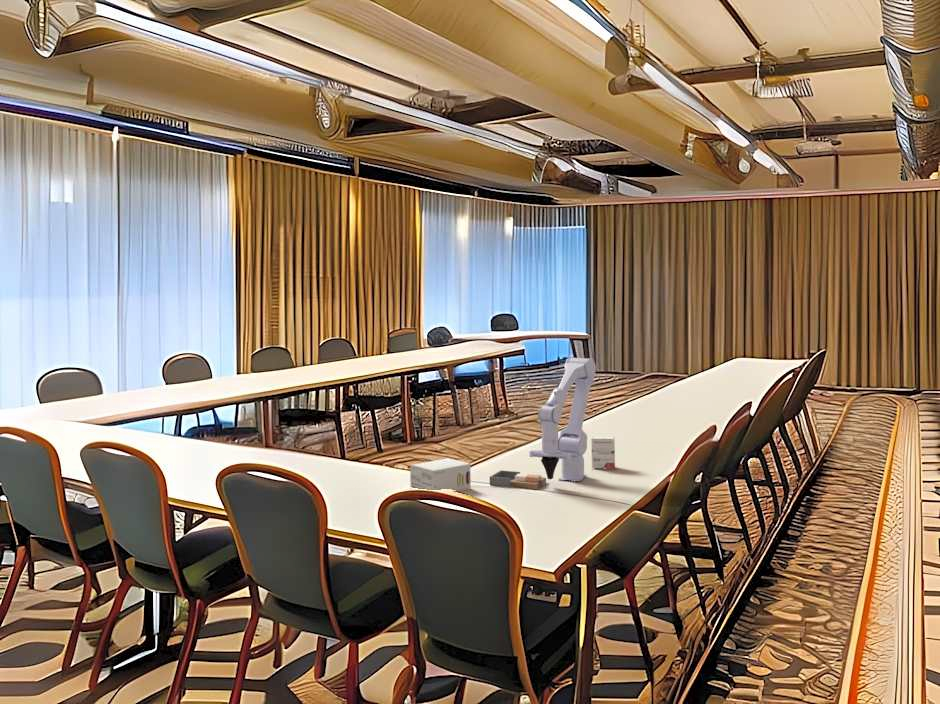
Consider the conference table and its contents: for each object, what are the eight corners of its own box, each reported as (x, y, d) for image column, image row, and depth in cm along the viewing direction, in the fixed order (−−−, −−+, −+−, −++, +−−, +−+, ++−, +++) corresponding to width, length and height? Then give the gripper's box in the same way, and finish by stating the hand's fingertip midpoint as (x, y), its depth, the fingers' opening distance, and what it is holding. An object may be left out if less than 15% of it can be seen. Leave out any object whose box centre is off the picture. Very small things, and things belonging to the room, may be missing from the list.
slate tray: (500, 478, 311) (500, 470, 311) (520, 480, 308) (520, 471, 308) (489, 485, 302) (489, 476, 301) (509, 486, 299) (509, 478, 298)
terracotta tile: (530, 478, 302) (530, 474, 302) (541, 479, 300) (541, 475, 300) (526, 481, 298) (526, 476, 298) (537, 482, 297) (537, 477, 297)
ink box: (615, 467, 327) (615, 436, 326) (614, 469, 322) (614, 439, 321) (592, 466, 329) (592, 436, 328) (591, 469, 324) (591, 438, 323)
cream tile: (518, 477, 304) (518, 473, 304) (529, 478, 302) (529, 474, 302) (514, 480, 300) (514, 475, 300) (525, 481, 299) (525, 476, 299)
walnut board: (519, 480, 308) (519, 475, 308) (546, 482, 304) (545, 477, 303) (509, 486, 299) (509, 481, 298) (536, 489, 295) (536, 484, 294)
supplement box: (433, 498, 286) (432, 470, 285) (410, 490, 296) (409, 464, 295) (471, 489, 297) (471, 462, 296) (448, 482, 307) (447, 457, 306)
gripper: (526, 440, 295) (526, 479, 296) (566, 443, 289) (566, 482, 290) (533, 437, 301) (533, 474, 303) (572, 439, 296) (573, 478, 297)
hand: (550, 478), depth 297 cm, fingers closed
